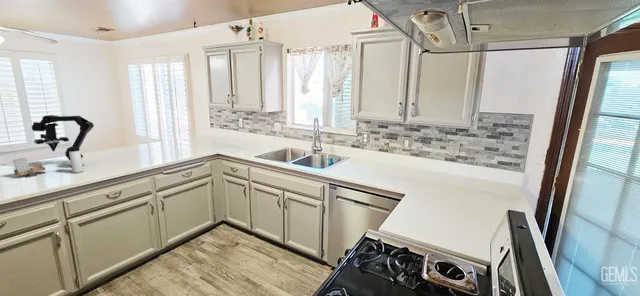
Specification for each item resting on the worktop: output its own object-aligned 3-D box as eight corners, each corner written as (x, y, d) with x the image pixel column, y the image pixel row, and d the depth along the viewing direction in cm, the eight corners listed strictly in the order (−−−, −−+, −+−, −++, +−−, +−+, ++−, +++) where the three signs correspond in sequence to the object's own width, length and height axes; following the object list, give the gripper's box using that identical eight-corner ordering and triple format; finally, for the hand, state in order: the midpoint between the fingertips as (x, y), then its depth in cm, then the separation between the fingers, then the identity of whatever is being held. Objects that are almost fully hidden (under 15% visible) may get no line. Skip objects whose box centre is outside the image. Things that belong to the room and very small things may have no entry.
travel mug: (86, 171, 213) (81, 145, 209) (78, 173, 207) (73, 147, 203) (78, 170, 214) (74, 145, 210) (70, 173, 207) (65, 147, 203)
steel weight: (28, 169, 203) (24, 157, 201) (30, 170, 200) (26, 158, 198) (16, 171, 198) (12, 159, 196) (18, 173, 195) (14, 161, 193)
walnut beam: (42, 168, 210) (41, 164, 209) (45, 170, 206) (44, 165, 205) (15, 174, 199) (13, 169, 198) (18, 176, 194) (16, 171, 193)
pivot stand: (42, 171, 212) (41, 168, 211) (47, 173, 206) (46, 170, 205) (16, 175, 200) (15, 172, 200) (20, 178, 194) (19, 175, 194)
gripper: (61, 129, 227) (64, 147, 231) (30, 131, 211) (33, 151, 215) (67, 130, 222) (70, 149, 225) (36, 133, 206) (39, 153, 209)
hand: (53, 151), depth 219 cm, fingers closed
